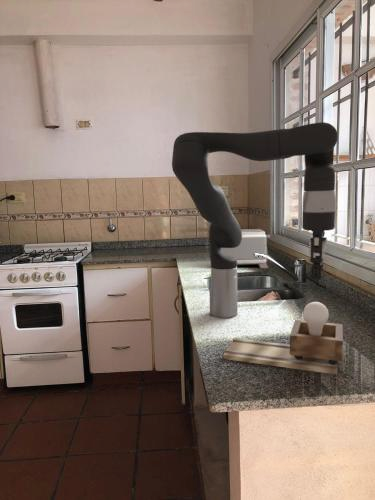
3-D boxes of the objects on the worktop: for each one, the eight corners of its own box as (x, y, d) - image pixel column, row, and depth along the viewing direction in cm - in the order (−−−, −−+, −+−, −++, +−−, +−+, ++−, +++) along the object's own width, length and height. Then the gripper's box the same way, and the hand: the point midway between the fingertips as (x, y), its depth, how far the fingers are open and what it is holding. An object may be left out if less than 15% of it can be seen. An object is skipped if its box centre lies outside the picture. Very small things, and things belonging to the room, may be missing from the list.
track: (223, 358, 102) (223, 353, 102) (234, 342, 113) (234, 336, 113) (337, 374, 92) (337, 368, 92) (337, 354, 103) (337, 348, 103)
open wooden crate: (289, 361, 96) (289, 335, 95) (294, 343, 107) (295, 319, 106) (341, 368, 91) (342, 341, 90) (341, 348, 102) (342, 324, 101)
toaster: (273, 268, 218) (273, 232, 215) (212, 269, 218) (212, 233, 215) (266, 261, 237) (266, 228, 234) (210, 263, 237) (210, 230, 234)
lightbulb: (311, 349, 95) (312, 306, 94) (298, 340, 101) (298, 300, 100) (332, 346, 97) (334, 304, 95) (318, 337, 103) (319, 297, 101)
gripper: (334, 211, 85) (332, 283, 88) (335, 207, 98) (333, 269, 101) (299, 212, 88) (298, 281, 91) (304, 208, 101) (303, 268, 104)
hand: (317, 275), depth 96 cm, fingers open, 8 cm apart
